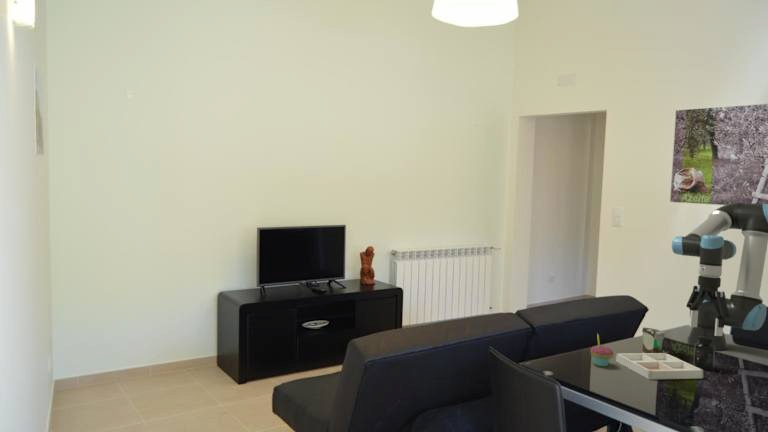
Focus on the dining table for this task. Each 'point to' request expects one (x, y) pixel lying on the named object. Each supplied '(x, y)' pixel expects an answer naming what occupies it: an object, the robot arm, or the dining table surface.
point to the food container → (652, 340)
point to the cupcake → (601, 354)
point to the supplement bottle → (704, 353)
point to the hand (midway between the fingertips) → (705, 331)
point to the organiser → (659, 366)
